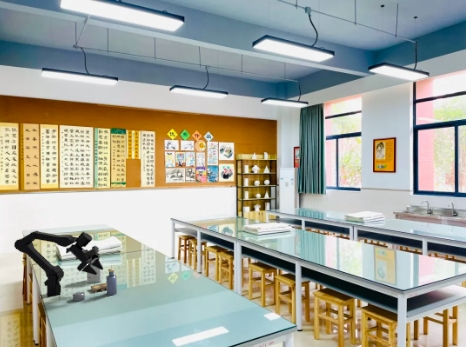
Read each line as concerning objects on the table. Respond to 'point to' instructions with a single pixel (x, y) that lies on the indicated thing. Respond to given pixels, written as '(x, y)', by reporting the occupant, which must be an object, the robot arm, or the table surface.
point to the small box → (95, 277)
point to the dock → (98, 287)
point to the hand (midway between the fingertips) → (99, 271)
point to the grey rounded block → (78, 296)
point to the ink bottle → (111, 282)
